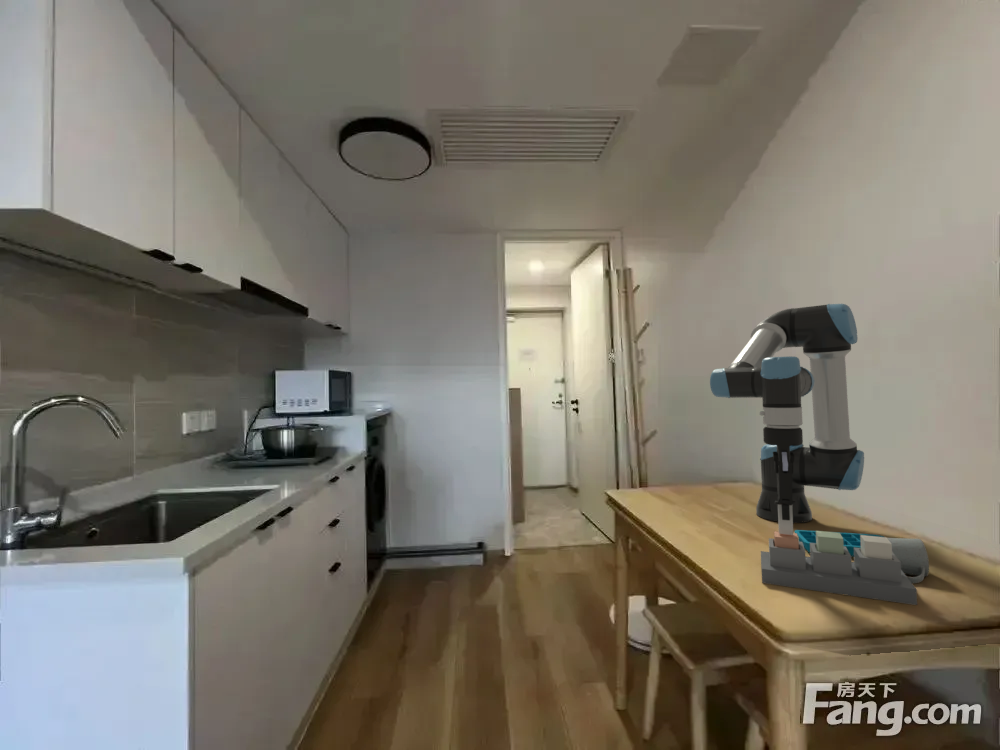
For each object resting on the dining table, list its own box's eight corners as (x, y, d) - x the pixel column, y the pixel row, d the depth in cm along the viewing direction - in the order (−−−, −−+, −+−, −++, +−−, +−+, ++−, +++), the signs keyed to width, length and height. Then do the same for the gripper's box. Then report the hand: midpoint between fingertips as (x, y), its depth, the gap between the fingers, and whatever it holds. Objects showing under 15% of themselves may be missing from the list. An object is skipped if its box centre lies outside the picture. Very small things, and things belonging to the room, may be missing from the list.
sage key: (816, 551, 108) (815, 530, 108) (840, 553, 106) (839, 532, 106) (818, 557, 104) (818, 536, 104) (844, 560, 102) (843, 538, 102)
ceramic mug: (874, 563, 114) (873, 530, 114) (919, 569, 111) (918, 534, 111) (887, 581, 105) (885, 545, 105) (936, 587, 101) (935, 550, 101)
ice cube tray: (793, 540, 133) (793, 529, 133) (882, 546, 127) (881, 534, 127) (806, 555, 122) (805, 543, 122) (904, 562, 116) (903, 549, 116)
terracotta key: (774, 551, 111) (774, 531, 111) (797, 553, 109) (796, 533, 109) (775, 557, 107) (774, 536, 108) (799, 560, 105) (798, 539, 106)
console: (761, 563, 116) (760, 534, 116) (900, 581, 104) (898, 548, 104) (762, 582, 105) (761, 549, 105) (917, 605, 93) (915, 568, 94)
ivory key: (861, 556, 104) (860, 534, 104) (887, 559, 102) (886, 537, 102) (865, 563, 100) (864, 541, 100) (892, 566, 98) (891, 543, 98)
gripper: (762, 423, 116) (765, 523, 116) (763, 428, 105) (767, 540, 104) (799, 424, 113) (803, 527, 113) (805, 429, 101) (809, 544, 101)
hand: (785, 533), depth 109 cm, fingers closed
